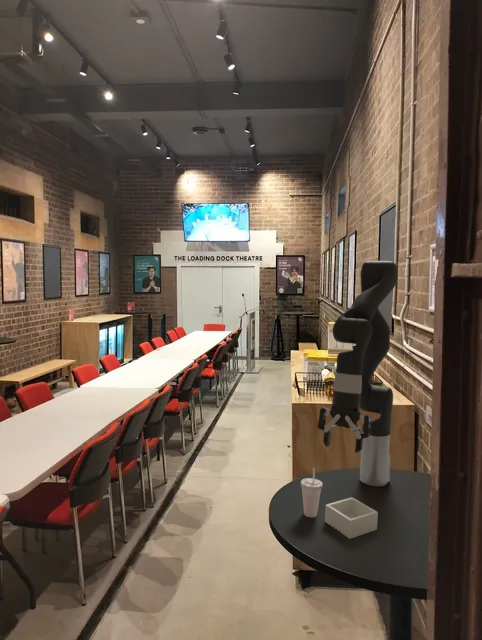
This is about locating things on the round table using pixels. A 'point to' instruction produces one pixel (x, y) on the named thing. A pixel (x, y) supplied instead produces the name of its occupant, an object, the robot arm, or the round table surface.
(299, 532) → the round table surface
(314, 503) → the smoothie
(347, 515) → the box
